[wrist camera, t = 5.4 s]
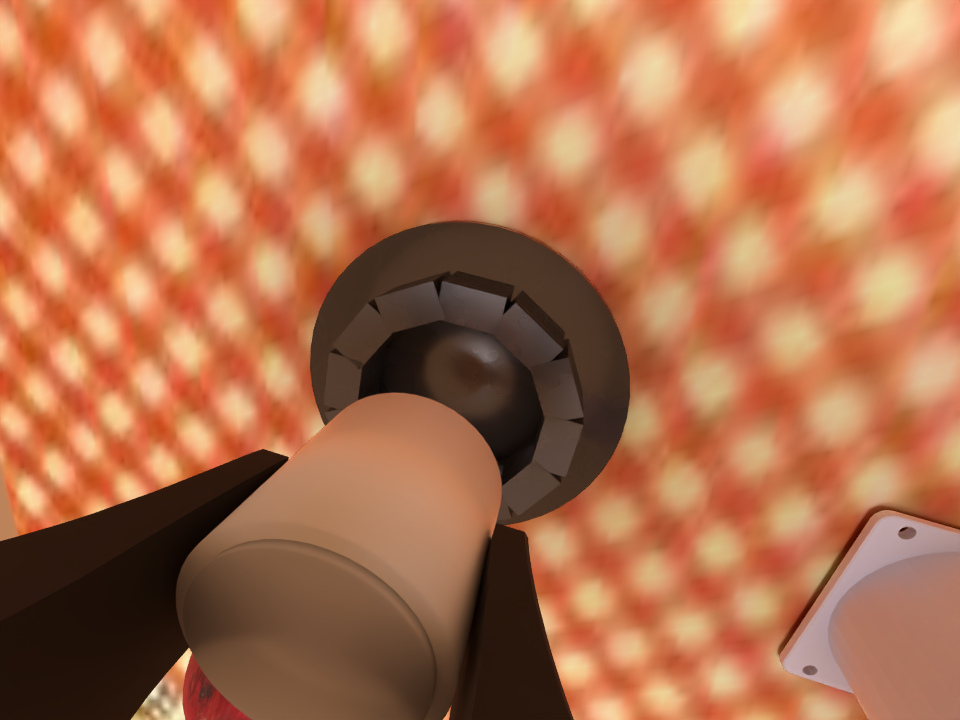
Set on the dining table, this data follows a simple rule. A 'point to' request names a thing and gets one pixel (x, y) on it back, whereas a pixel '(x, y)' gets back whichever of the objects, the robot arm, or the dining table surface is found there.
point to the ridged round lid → (483, 351)
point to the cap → (349, 570)
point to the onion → (205, 698)
